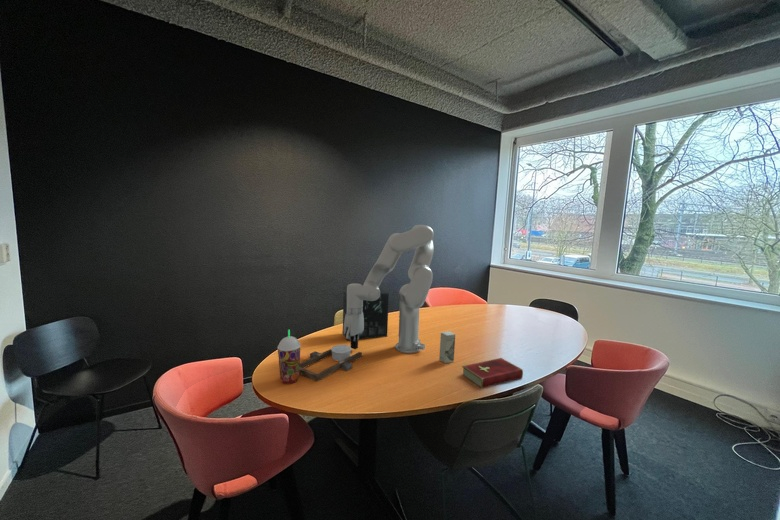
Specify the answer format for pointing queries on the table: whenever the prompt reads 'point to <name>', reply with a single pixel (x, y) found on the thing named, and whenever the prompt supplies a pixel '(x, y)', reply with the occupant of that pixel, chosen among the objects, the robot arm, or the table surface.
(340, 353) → the ramekin
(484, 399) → the table surface
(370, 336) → the headset box
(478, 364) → the hardcover book
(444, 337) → the box
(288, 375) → the smoothie
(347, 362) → the beam track
